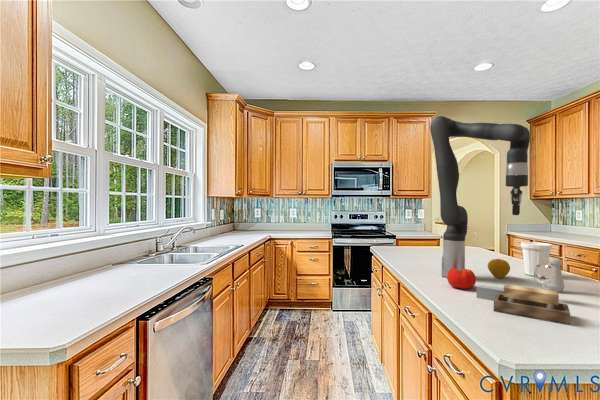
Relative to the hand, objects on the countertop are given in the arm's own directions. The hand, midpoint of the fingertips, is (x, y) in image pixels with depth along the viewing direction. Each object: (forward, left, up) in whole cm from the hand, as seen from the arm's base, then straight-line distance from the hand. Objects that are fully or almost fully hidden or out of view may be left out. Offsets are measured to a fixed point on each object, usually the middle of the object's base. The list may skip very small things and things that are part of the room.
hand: (516, 214), depth 131 cm
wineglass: (+9, -10, -30) cm, 33 cm away
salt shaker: (+13, +6, -30) cm, 34 cm away
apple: (-7, +18, -30) cm, 36 cm away
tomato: (-18, -11, -30) cm, 37 cm away
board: (+5, -31, -26) cm, 40 cm away
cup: (+7, +35, -30) cm, 47 cm away
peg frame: (+5, -31, -30) cm, 43 cm away
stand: (-5, -21, -30) cm, 37 cm away
